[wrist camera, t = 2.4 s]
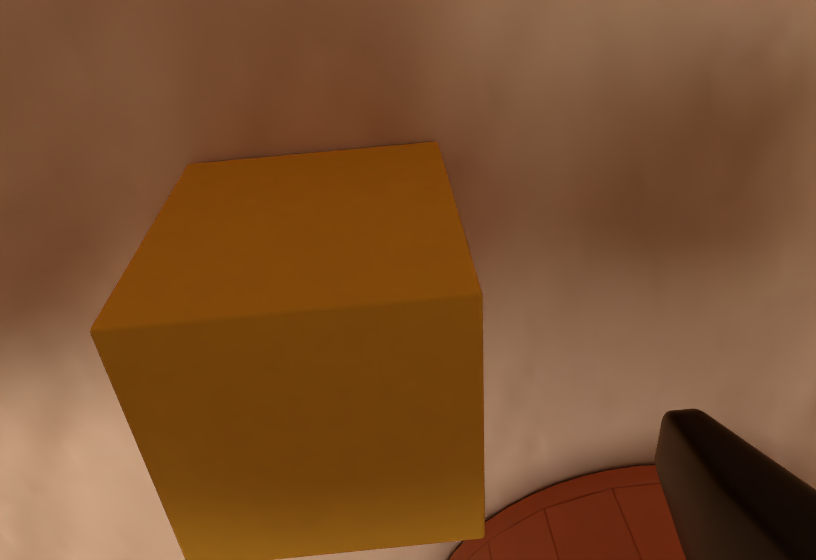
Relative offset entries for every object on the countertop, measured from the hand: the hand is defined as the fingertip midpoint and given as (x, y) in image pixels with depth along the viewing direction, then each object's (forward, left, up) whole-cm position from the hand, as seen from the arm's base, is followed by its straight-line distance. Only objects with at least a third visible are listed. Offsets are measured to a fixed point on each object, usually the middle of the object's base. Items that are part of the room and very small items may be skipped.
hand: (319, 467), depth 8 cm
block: (0, 0, -5) cm, 5 cm away
